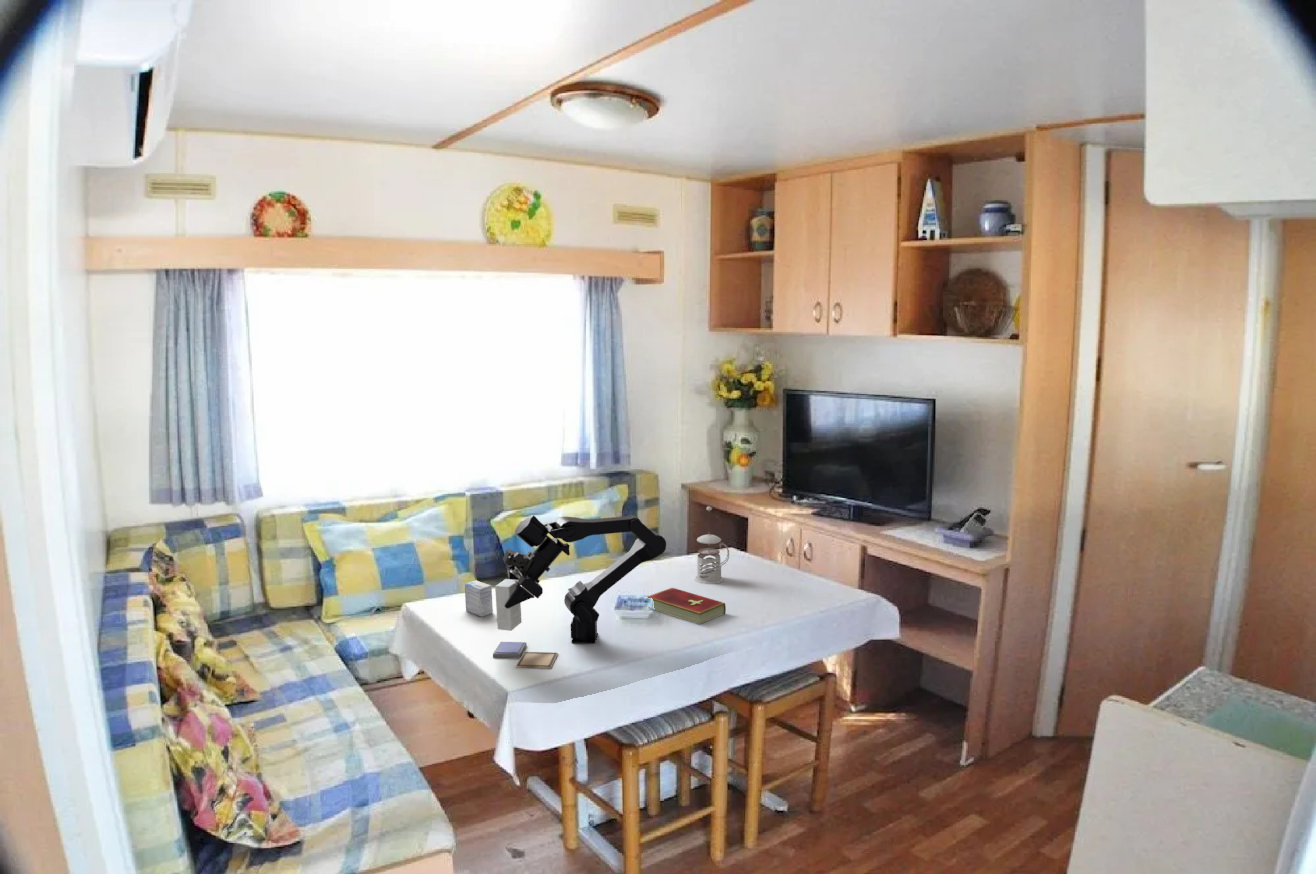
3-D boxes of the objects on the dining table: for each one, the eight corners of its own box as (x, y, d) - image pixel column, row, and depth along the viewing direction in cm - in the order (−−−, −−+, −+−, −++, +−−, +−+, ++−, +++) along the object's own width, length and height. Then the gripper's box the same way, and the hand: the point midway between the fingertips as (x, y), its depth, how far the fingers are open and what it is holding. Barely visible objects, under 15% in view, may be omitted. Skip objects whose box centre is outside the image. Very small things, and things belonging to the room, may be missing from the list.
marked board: (557, 654, 220) (557, 652, 220) (551, 668, 212) (551, 666, 212) (524, 653, 221) (524, 651, 221) (515, 667, 212) (515, 665, 212)
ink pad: (526, 645, 226) (526, 641, 226) (519, 658, 218) (519, 653, 218) (500, 645, 227) (500, 641, 226) (493, 657, 219) (492, 652, 219)
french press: (692, 575, 285) (692, 503, 282) (725, 574, 287) (726, 502, 283) (696, 584, 276) (696, 510, 272) (731, 583, 277) (732, 509, 273)
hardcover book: (672, 599, 263) (672, 586, 263) (725, 615, 249) (725, 601, 249) (646, 609, 255) (646, 595, 254) (699, 626, 240) (699, 612, 240)
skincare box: (507, 621, 226) (505, 578, 224) (521, 623, 224) (520, 579, 223) (496, 629, 220) (494, 585, 218) (511, 631, 219) (509, 587, 217)
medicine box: (493, 613, 251) (492, 585, 249) (480, 617, 247) (479, 589, 246) (477, 607, 256) (476, 579, 255) (465, 611, 253) (464, 583, 251)
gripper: (513, 530, 229) (474, 574, 226) (528, 548, 211) (486, 596, 209) (543, 554, 233) (505, 598, 230) (559, 574, 215) (519, 621, 213)
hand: (503, 603), depth 221 cm, fingers closed on skincare box, 7 cm apart
